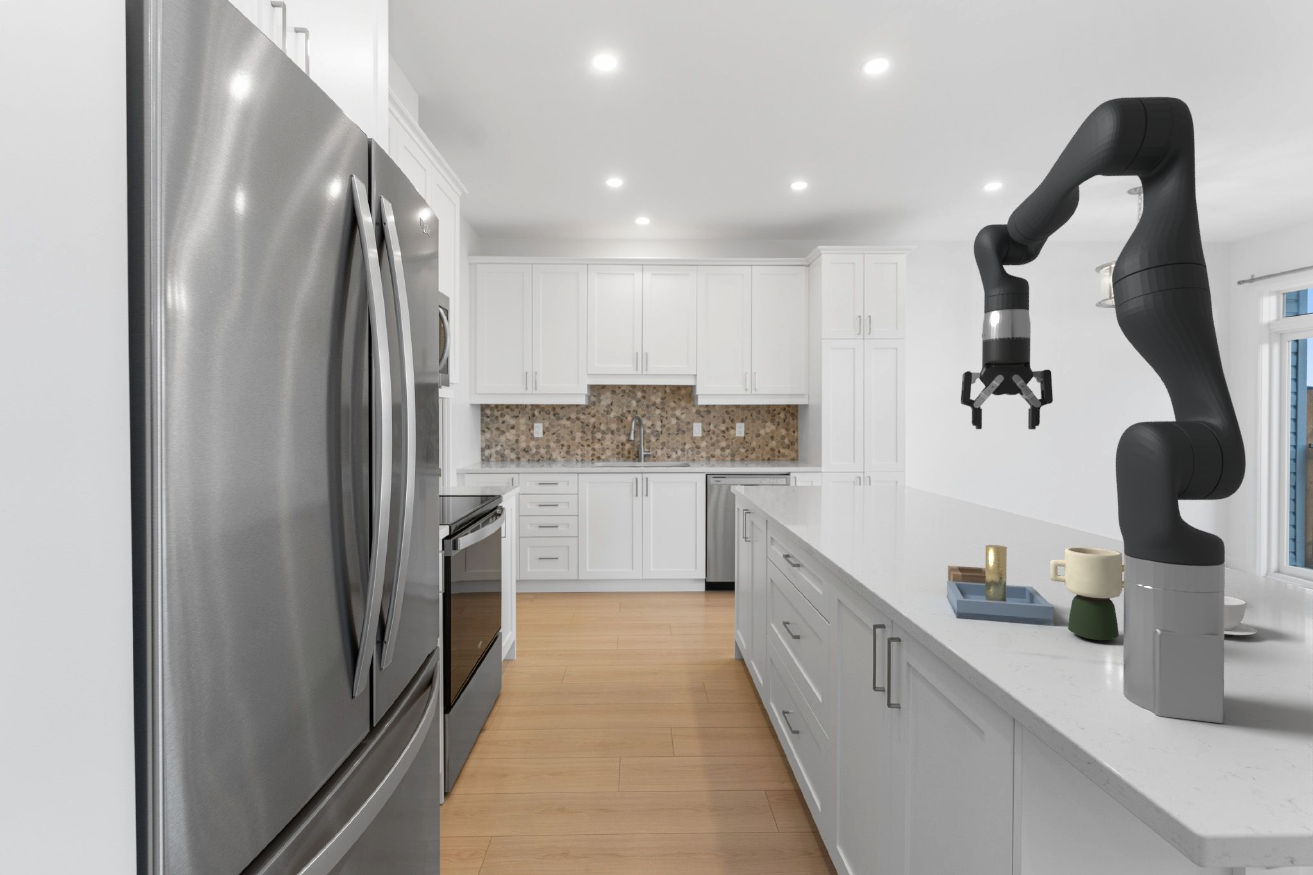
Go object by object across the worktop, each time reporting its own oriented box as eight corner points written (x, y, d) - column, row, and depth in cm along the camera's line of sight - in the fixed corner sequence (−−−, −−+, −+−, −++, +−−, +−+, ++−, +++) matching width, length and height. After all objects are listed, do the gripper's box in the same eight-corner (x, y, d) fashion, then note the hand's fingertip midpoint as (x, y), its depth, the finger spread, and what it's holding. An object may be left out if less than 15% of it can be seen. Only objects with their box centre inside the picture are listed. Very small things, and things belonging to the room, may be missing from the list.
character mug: (1135, 637, 97) (1135, 550, 96) (1141, 650, 90) (1141, 558, 90) (1049, 626, 102) (1049, 544, 102) (1050, 638, 96) (1050, 551, 96)
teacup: (1260, 642, 95) (1260, 610, 95) (1173, 629, 101) (1173, 599, 101) (1253, 626, 102) (1253, 597, 102) (1173, 615, 109) (1173, 587, 109)
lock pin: (1007, 607, 109) (1008, 548, 109) (986, 605, 110) (986, 547, 110) (1004, 603, 112) (1005, 545, 112) (984, 601, 113) (984, 544, 113)
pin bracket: (997, 597, 119) (997, 576, 119) (952, 594, 122) (952, 573, 122) (990, 588, 126) (990, 568, 126) (947, 585, 129) (947, 565, 129)
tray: (1053, 625, 102) (1053, 606, 102) (956, 617, 107) (956, 599, 107) (1032, 603, 116) (1032, 586, 116) (946, 597, 120) (946, 581, 120)
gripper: (965, 337, 113) (964, 429, 113) (1057, 333, 109) (1056, 429, 109) (959, 342, 120) (958, 429, 121) (1045, 339, 116) (1044, 429, 116)
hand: (1005, 429), depth 115 cm, fingers open, 8 cm apart
